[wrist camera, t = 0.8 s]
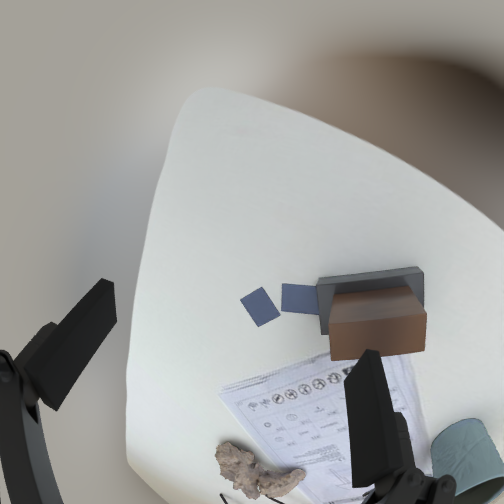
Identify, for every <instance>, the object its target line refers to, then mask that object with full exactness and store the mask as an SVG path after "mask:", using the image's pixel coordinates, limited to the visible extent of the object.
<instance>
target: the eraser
mask: <svg viewBox="0 0 504 504" xmlns="http://www.w3.org/2000/svg"><path fill="white" fill-rule="evenodd" d="M316 291H317V299H318V308H319V317H320V327H321V335H329V340H330V353H331V361H340V360H354V359H360V357H361V356H362V355H363V353H364V352H365V350H366V349H370V350H376V351H379V354H380V357H384V356H393V355H401V354H408V353H415V352H421V351H424V350H425V339H426V323H427V313H426V311H425V310H424V272H423V271H422V270H421V269H420V268H419V267H417V266H416V267H408V268H401V269H393V270H385V271H377V272H369V273H360V274H351V275H343V276H333V277H324V278H319V279H318V282H317V284H316Z"/></svg>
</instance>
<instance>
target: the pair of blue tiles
mask: <svg viewBox="0 0 504 504" xmlns="http://www.w3.org/2000/svg"><path fill="white" fill-rule="evenodd" d="M240 301H241V302H242V304H243V305H244V307H245V308H246V310H247V311H248V313H249V314H250V316H251V317H252V319H253V320H254V322H255V323H256V325H257V326H258V327H259V326H261V325H263V324H265V323H267V322H269V321H271V320H273V319H275V318H277V317H278V316H280V313H279V312H278V310H277V309H276V307H275V306H274V304H273V303H272V301H271V300H270V298H269V297H268V295H267V294H266V292H265V291H264V289H263V288H262V287H261V288H259V289H257V290H256V291H254V292H252V293H251V294H249V295H247V296H246V297H244V298H242V299H240ZM281 311H284V312H294V313H304V314H315V315H319V308H318V299H317V291H316V286H306V285H294V284H282V306H281Z"/></svg>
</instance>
